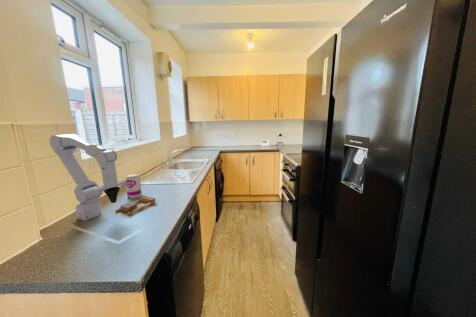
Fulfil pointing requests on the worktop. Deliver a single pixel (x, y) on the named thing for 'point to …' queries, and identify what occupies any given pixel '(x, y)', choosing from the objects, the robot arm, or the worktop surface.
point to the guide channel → (138, 206)
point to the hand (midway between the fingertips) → (113, 202)
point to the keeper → (128, 207)
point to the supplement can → (133, 186)
